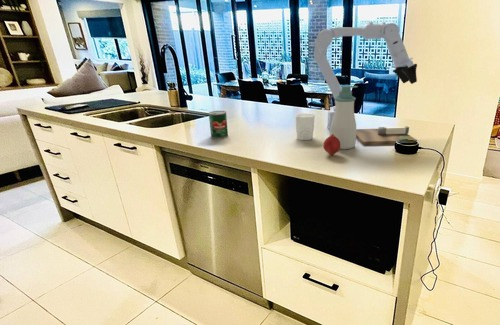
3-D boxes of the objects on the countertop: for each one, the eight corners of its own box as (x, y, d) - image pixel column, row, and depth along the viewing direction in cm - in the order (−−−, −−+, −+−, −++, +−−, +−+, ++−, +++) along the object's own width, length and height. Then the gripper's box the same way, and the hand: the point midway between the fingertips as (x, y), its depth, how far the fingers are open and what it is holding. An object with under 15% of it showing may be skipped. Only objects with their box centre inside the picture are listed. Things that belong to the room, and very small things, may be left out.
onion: (321, 153, 110) (321, 132, 107) (336, 151, 110) (337, 130, 107) (326, 158, 104) (327, 136, 101) (342, 157, 105) (343, 135, 102)
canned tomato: (220, 132, 142) (218, 109, 138) (231, 135, 137) (229, 111, 133) (207, 136, 137) (205, 113, 133) (218, 139, 132) (215, 115, 128)
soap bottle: (351, 151, 110) (356, 88, 101) (325, 148, 115) (328, 87, 106) (358, 144, 117) (363, 84, 109) (333, 141, 122) (336, 83, 114)
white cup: (315, 135, 130) (316, 113, 127) (312, 141, 123) (313, 117, 120) (297, 135, 133) (297, 112, 129) (293, 140, 126) (293, 116, 122)
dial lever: (379, 135, 121) (380, 128, 120) (376, 133, 124) (377, 126, 123) (409, 134, 120) (410, 127, 119) (405, 132, 123) (406, 126, 122)
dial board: (363, 145, 115) (363, 141, 115) (350, 132, 132) (351, 129, 132) (416, 143, 114) (417, 139, 113) (397, 131, 131) (397, 127, 130)
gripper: (415, 45, 114) (428, 77, 117) (400, 48, 128) (411, 77, 131) (397, 55, 116) (410, 86, 119) (384, 56, 130) (396, 85, 133)
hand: (409, 82), depth 125 cm, fingers open, 7 cm apart
